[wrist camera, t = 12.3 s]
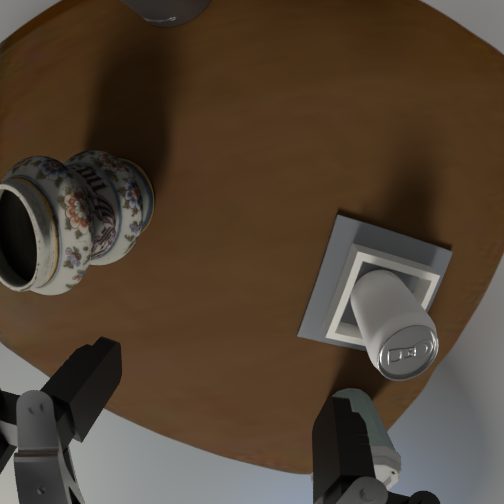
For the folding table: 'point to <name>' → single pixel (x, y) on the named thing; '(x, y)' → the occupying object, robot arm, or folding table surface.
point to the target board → (357, 265)
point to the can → (393, 326)
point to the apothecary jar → (69, 218)
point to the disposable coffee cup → (375, 437)
